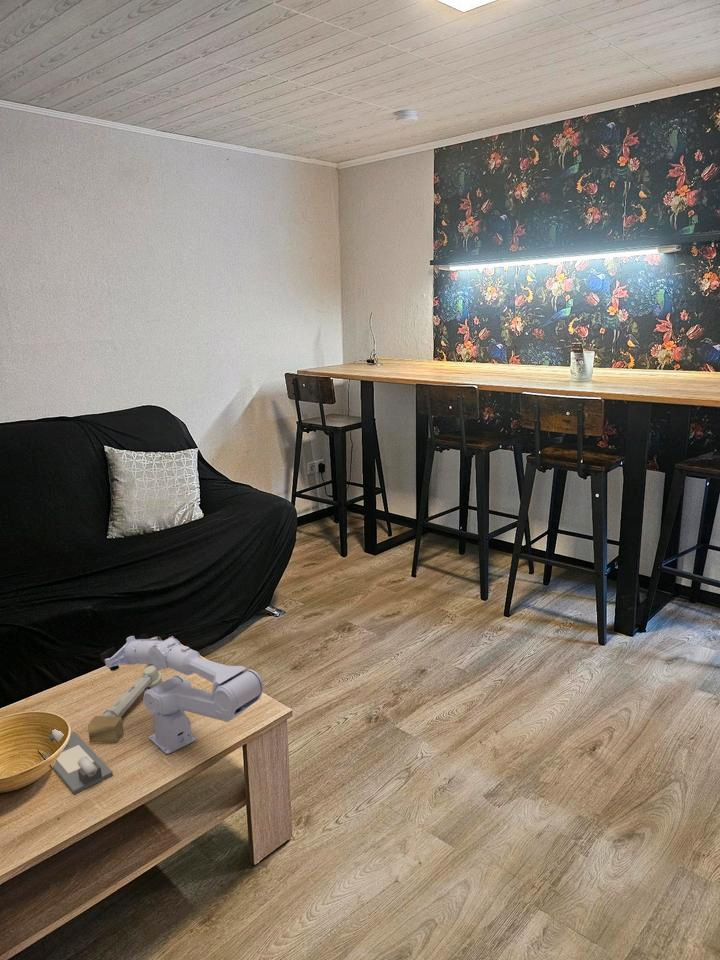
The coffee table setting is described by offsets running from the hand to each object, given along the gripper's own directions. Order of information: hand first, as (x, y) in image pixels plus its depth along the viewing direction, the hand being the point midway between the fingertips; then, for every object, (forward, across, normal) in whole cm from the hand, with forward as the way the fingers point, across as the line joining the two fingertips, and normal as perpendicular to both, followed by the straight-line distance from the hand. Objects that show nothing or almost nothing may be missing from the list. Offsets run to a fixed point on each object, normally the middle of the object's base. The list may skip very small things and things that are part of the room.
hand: (115, 651), depth 177 cm
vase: (+17, -22, +14) cm, 31 cm away
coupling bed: (-4, +19, +20) cm, 28 cm away
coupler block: (-2, +9, +19) cm, 21 cm away
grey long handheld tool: (+6, -4, +18) cm, 19 cm away
